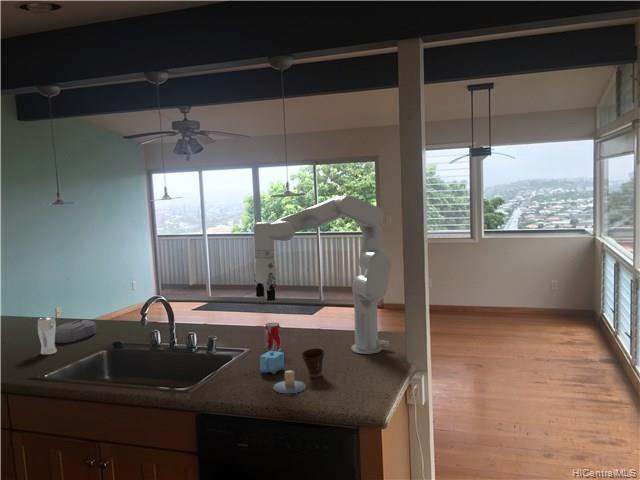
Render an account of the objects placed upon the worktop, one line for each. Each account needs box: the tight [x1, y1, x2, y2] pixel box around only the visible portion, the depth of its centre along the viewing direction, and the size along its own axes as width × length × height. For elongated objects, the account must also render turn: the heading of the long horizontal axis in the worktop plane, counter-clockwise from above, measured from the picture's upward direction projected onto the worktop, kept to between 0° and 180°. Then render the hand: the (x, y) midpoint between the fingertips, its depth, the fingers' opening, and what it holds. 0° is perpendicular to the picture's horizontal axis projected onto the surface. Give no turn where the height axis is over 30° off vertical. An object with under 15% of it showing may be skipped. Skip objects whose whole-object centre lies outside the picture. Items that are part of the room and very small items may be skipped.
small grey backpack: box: [55, 319, 97, 344], centre depth 239 cm, size 15×8×20 cm
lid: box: [273, 370, 307, 394], centre depth 169 cm, size 11×11×6 cm
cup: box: [301, 348, 325, 379], centre depth 179 cm, size 8×8×9 cm
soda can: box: [263, 322, 283, 353], centre depth 209 cm, size 7×7×12 cm
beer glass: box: [37, 316, 58, 356], centre depth 216 cm, size 7×7×15 cm
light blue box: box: [259, 348, 285, 375], centre depth 187 cm, size 12×6×8 cm, turn 156°
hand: (265, 298), depth 193 cm, fingers open, 9 cm apart
